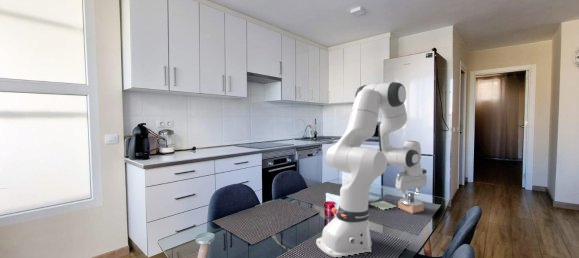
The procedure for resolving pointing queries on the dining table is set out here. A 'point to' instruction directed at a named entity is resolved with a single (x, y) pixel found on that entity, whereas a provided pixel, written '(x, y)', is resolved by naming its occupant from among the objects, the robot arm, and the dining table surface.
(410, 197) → the lid
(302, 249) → the dining table surface
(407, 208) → the orange open box
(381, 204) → the mat
